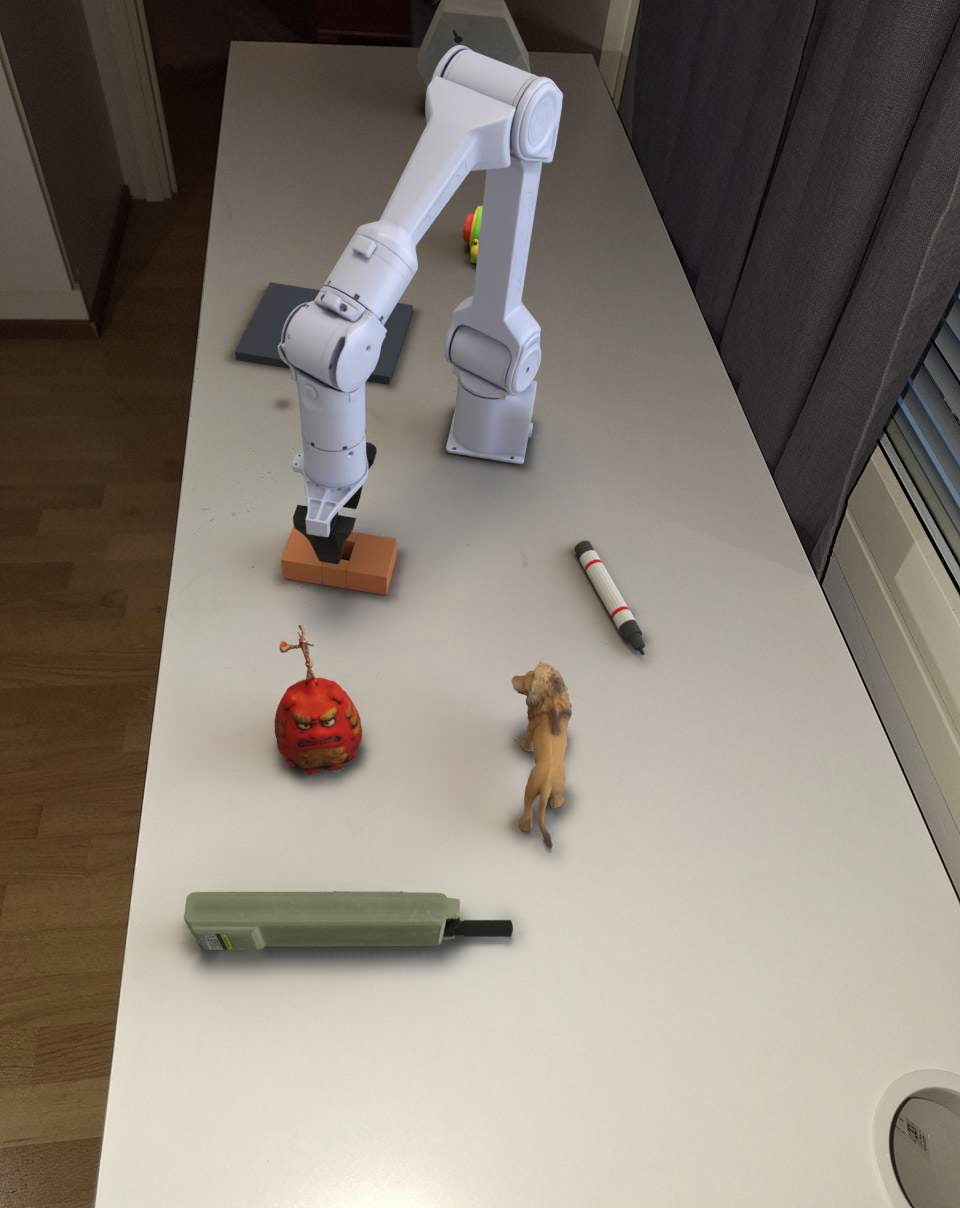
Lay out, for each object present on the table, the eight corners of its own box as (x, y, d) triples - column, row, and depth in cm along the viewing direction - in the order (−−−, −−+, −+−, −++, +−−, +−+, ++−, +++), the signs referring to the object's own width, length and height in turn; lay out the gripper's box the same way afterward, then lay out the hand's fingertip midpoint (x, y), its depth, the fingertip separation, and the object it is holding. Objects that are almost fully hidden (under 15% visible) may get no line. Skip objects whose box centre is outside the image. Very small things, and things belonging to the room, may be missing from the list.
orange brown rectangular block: (396, 557, 98) (397, 538, 95) (386, 595, 94) (386, 577, 92) (296, 540, 98) (294, 521, 95) (283, 578, 94) (280, 559, 92)
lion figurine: (502, 707, 87) (513, 654, 80) (556, 705, 88) (571, 652, 81) (521, 852, 78) (535, 808, 71) (581, 849, 79) (600, 804, 72)
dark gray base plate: (412, 312, 125) (413, 274, 120) (389, 384, 115) (390, 345, 111) (270, 289, 125) (266, 250, 121) (235, 359, 115) (229, 320, 111)
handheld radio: (202, 911, 73) (509, 911, 75) (196, 953, 71) (511, 952, 73) (188, 884, 67) (519, 885, 70) (181, 929, 66) (521, 929, 68)
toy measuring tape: (453, 267, 133) (457, 225, 128) (484, 203, 145) (488, 162, 140) (495, 276, 132) (500, 234, 127) (523, 211, 144) (528, 171, 139)
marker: (572, 554, 100) (575, 542, 99) (588, 550, 101) (591, 538, 99) (633, 663, 92) (638, 652, 90) (650, 659, 92) (655, 647, 91)
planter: (541, 83, 163) (488, -35, 148) (544, 102, 158) (489, -17, 144) (460, 129, 169) (401, 21, 155) (460, 149, 164) (399, 39, 150)
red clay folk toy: (284, 786, 80) (268, 697, 68) (272, 719, 84) (255, 624, 72) (368, 768, 82) (367, 678, 70) (353, 703, 86) (349, 608, 74)
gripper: (310, 373, 85) (317, 476, 96) (267, 478, 76) (280, 579, 87) (383, 385, 85) (382, 487, 96) (348, 491, 76) (352, 591, 87)
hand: (338, 532), depth 92 cm, fingers open, 7 cm apart
